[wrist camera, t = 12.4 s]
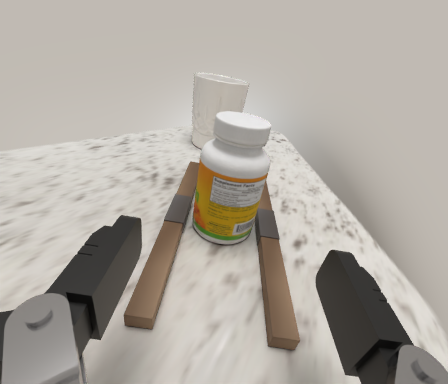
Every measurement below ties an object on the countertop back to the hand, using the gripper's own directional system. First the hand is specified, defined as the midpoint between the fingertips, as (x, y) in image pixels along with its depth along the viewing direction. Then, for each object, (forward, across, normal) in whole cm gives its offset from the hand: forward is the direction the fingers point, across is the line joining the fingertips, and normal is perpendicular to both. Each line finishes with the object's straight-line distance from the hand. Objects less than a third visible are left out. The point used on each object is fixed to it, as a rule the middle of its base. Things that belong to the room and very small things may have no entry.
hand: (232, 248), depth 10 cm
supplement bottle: (+10, 0, +7) cm, 12 cm away
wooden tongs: (+10, 0, +6) cm, 12 cm away
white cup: (+30, +3, +7) cm, 31 cm away
